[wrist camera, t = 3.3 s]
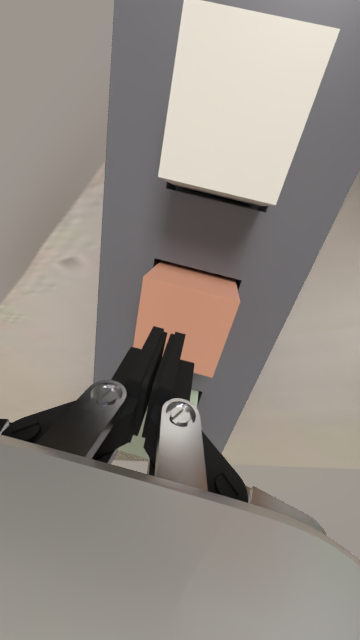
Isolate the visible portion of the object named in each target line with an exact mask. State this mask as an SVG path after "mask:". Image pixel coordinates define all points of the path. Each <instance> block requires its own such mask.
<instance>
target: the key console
mask: <svg viewBox="0 0 360 640" xmlns="http://www.w3.org/2000/svg"><path fill="white" fill-rule="evenodd" d="M203 1H208V2H213V3H217V4H222V5H227V6H232V7H237V8H241V9H246V10H251V11H256V12H261V13H265V14H270V15H275V16H280V17H285V18H290V19H294V20H299V21H304V22H309V23H314V24H318V25H323V26H328V27H333V28H338V29H340V31H339V34H338V37H337V39H336V42H335V45H334V48H333V50H332V53H331V56H330V58H329V61H328V64H327V67H326V69H325V72H324V75H323V78H322V80H321V83H320V86H319V88H318V91H317V94H316V97H315V99H314V102H313V105H312V108H311V110H310V113H309V116H308V119H307V121H306V124H305V127H304V129H303V132H302V135H301V138H300V140H299V143H298V146H297V149H296V151H295V154H294V157H293V159H292V162H291V165H290V168H289V170H288V173H287V176H286V179H285V181H284V184H283V187H282V189H281V192H280V195H279V198H278V200H277V203H276V205H271V206H256V205H252V204H248V203H244V202H239V201H235V200H231V199H227V198H223V197H219V196H215V195H211V194H206V193H202V192H198V191H194V190H190V189H186V188H182V187H178V186H175V185H173V184H171V183H169V182H167V181H165V180H163V179H161V178H159V177H158V173H159V166H160V159H161V152H162V146H163V139H164V132H165V125H166V118H167V111H168V105H169V98H170V91H171V84H172V77H173V70H174V64H175V57H176V50H177V43H178V36H179V29H180V23H181V16H182V9H183V2H184V0H115V1H114V18H113V36H112V54H111V73H110V90H109V108H108V109H109V110H108V126H107V145H106V163H105V181H104V199H103V217H102V235H101V253H100V271H99V290H98V308H97V326H96V344H95V362H94V380H93V384H94V383H96V382H98V381H101V380H111V379H112V377H113V375H114V374H115V372H116V370H117V369H118V367H119V365H120V364H121V362H122V360H123V359H124V357H125V356H126V354H127V352H128V351H129V349H130V348H131V347H133V344H134V337H135V330H136V323H137V316H138V309H139V303H140V296H141V289H142V282H143V276H145V275H146V274H147V273H148V272H149V271H150V270H151V269H152V268H153V267H155V266H156V265H157V264H158V263H159V262H160V261H161V260H164V261H168V262H172V263H175V264H179V265H183V266H187V267H191V268H195V269H199V270H203V271H207V272H211V273H215V274H218V275H222V276H226V277H230V278H234V279H235V280H236V285H237V289H238V294H239V298H240V304H239V307H238V310H237V312H236V315H235V318H234V320H233V323H232V326H231V329H230V331H229V334H228V337H227V340H226V342H225V345H224V348H223V350H222V353H221V356H220V359H219V361H218V364H217V367H216V370H215V372H214V375H213V378H211V377H208V376H204V375H200V374H197V373H193V380H192V388H191V389H194V390H197V391H199V393H198V402H197V409H198V411H199V414H200V421H201V430H202V431H203V432H204V434H205V435H206V436H207V437H208V438H209V440H210V441H211V442H212V443H213V445H214V446H215V447H216V448H217V449H218V451H219V452H220V453H222V451H223V449H224V447H225V445H226V443H227V441H228V439H229V437H230V434H231V432H232V430H233V428H234V426H235V424H236V422H237V420H238V418H239V416H240V414H241V412H242V410H243V408H244V406H245V404H246V402H247V399H248V397H249V395H250V393H251V391H252V389H253V387H254V385H255V383H256V381H257V379H258V377H259V375H260V373H261V371H262V369H263V367H264V364H265V362H266V360H267V358H268V356H269V354H270V352H271V350H272V348H273V346H274V344H275V342H276V340H277V338H278V336H279V334H280V332H281V329H282V327H283V325H284V323H285V321H286V319H287V317H288V315H289V313H290V311H291V309H292V307H293V305H294V303H295V301H296V299H297V297H298V294H299V292H300V290H301V288H302V286H303V284H304V282H305V280H306V278H307V276H308V274H309V272H310V270H311V268H312V266H313V264H314V262H315V259H316V257H317V255H318V253H319V251H320V249H321V247H322V245H323V243H324V241H325V239H326V237H327V235H328V233H329V231H330V229H331V227H332V224H333V222H334V220H335V218H336V216H337V214H338V212H339V210H340V208H341V206H342V204H343V202H344V200H345V198H346V196H347V194H348V192H349V189H350V187H351V185H352V183H353V181H354V179H355V177H356V175H357V173H358V171H359V169H360V0H203Z"/></svg>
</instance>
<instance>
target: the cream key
mask: <svg viewBox="0 0 360 640" xmlns="http://www.w3.org/2000/svg"><path fill="white" fill-rule="evenodd" d="M339 31H340V29H338V28H333V27H328V26H323V25H318V24H314V23H309V22H304V21H299V20H294V19H290V18H285V17H280V16H275V15H270V14H265V13H261V12H256V11H251V10H246V9H241V8H237V7H232V6H227V5H222V4H217V3H213V2H208V1H203V0H184V2H183V9H182V16H181V23H180V29H179V36H178V43H177V50H176V57H175V64H174V70H173V77H172V84H171V91H170V98H169V105H168V111H167V118H166V125H165V132H164V139H163V146H162V152H161V159H160V166H159V173H158V177H159V178H161V179H163V180H165V181H167V182H169V183H171V184H173V185H175V186H178V187H182V188H186V189H190V190H194V191H198V192H202V193H206V194H211V195H215V196H219V197H223V198H227V199H231V200H235V201H239V202H244V203H248V204H252V205H256V206H271V205H276V203H277V200H278V198H279V195H280V192H281V189H282V187H283V184H284V181H285V179H286V176H287V173H288V170H289V168H290V165H291V162H292V159H293V157H294V154H295V151H296V149H297V146H298V143H299V140H300V138H301V135H302V132H303V129H304V127H305V124H306V121H307V119H308V116H309V113H310V110H311V108H312V105H313V102H314V99H315V97H316V94H317V91H318V88H319V86H320V83H321V80H322V78H323V75H324V72H325V69H326V67H327V64H328V61H329V58H330V56H331V53H332V50H333V48H334V45H335V42H336V39H337V37H338V34H339Z"/></svg>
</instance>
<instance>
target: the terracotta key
mask: <svg viewBox="0 0 360 640" xmlns="http://www.w3.org/2000/svg"><path fill="white" fill-rule="evenodd" d="M239 304H240V298H239V294H238V289H237V285H236V280H235V279H234V278H230V277H226V276H222V275H218V274H215V273H211V272H207V271H203V270H199V269H195V268H191V267H187V266H183V265H179V264H175V263H172V262H168V261H164V260H161V261H160V262H159V263H158V264H157V265H156V266H155V267H153V268H152V269H151V270H150V271H149V272H148V273H147V274H146V275H145V276H143V282H142V289H141V296H140V303H139V309H138V316H137V323H136V330H135V337H134V344H133V347H135V348H139V349H142V347H143V345H144V343H145V342H146V340H147V338H148V336H149V334H150V332H151V330H152V328H153V326H156V327H159V328H163V329H164V332H167V337H166V342H165V346H164V351H165V348H166V345H167V342H168V339H169V337H170V334H175V332H179V333H183V334H186V336H185V340H184V345H183V349H182V353H181V358H180V359H181V360H185V361H189V362H192V363H194V373H197V374H200V375H204V376H208V377H211V378H213V375H214V372H215V370H216V367H217V364H218V361H219V359H220V356H221V353H222V350H223V348H224V345H225V342H226V340H227V337H228V334H229V331H230V329H231V326H232V323H233V320H234V318H235V315H236V312H237V310H238V307H239ZM164 351H163V354H164ZM162 357H163V355H162Z"/></svg>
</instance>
